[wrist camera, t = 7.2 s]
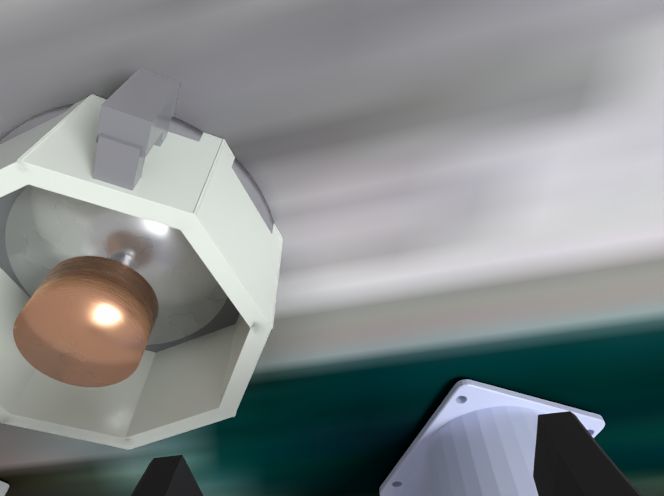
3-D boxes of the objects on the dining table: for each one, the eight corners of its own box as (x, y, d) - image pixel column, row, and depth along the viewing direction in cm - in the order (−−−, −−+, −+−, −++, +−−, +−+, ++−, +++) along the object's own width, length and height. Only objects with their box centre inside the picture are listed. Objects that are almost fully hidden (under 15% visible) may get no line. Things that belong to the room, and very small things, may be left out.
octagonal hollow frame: (234, 371, 24) (216, 471, 20) (-23, 307, 22) (-103, 404, 18) (334, 121, 18) (338, 192, 14) (-15, -6, 15) (-138, 32, 11)
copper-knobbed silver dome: (206, 355, 22) (182, 451, 19) (7, 305, 21) (-64, 399, 17) (260, 201, 18) (243, 282, 14) (18, 123, 17) (-71, 192, 13)
